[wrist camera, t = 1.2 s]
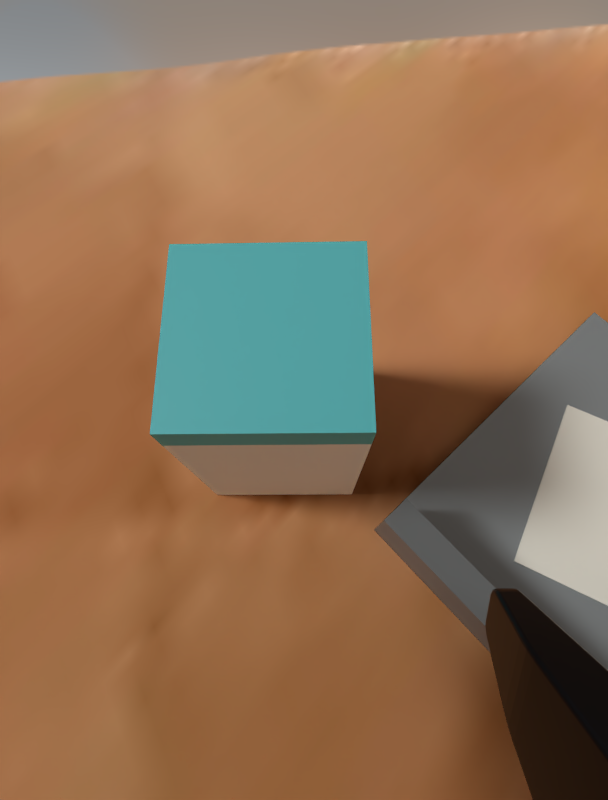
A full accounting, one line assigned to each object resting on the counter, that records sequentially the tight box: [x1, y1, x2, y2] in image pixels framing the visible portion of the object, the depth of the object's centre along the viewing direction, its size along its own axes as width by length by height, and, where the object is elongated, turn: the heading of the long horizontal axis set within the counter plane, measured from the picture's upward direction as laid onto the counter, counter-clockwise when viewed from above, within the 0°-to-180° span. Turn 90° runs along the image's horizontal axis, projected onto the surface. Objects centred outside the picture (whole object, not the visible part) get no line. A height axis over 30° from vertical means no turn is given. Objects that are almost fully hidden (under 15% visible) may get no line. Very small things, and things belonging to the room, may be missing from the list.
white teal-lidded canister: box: [150, 241, 376, 495], centre depth 19 cm, size 6×6×10 cm
